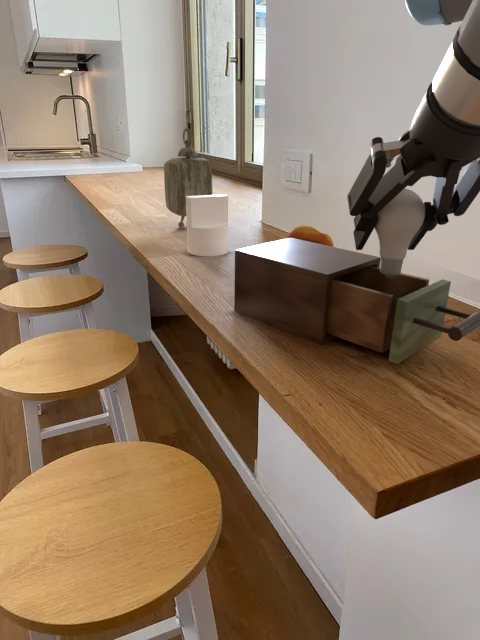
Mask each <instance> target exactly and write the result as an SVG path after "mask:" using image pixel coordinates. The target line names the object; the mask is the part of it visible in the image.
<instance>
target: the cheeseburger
mask: <svg viewBox="0 0 480 640" xmlns="http://www.w3.org/2000/svg"><path fill="white" fill-rule="evenodd" d="M286 238H295V239H299V240H304V241H309V242H313V243H318V244H322V245H327V246H331V247H335V246H334V245H335V244H334V242H333V240H332V237H331V236H330V235H329V234H328V233H326V232H320V231H319V230H317V229H316V228H314V227H312V226H307V225H298V226H296V227H294V228H293V229H291V231H290V232H289V233H288V235H287V237H286Z"/></svg>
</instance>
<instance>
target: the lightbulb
mask: <svg viewBox="0 0 480 640" xmlns="http://www.w3.org/2000/svg"><path fill="white" fill-rule="evenodd" d="M377 217H378V222H377V224H376V226H375V228H374V230H375V232H376V235H377V238H378V242H379V243H378V244H379V257H381V261H380V272H381V273H382V274H384V275H385V277H387V278H393V277H394V276H396V275H399V274H400V273H402V268H403V264H404V260H405V258H406V256H407V253H408V246H409V244H410V242H411V240H412V238H413V237H414V235H415V234H416V233H417V232H418V230H419V229H420V227H421V226H422V224H423V221H424V219H425V207H424V201H423V199H422V198H421V196H420V195H419V194H418V193H416V192H415V191H413V190H412V189H409V188H407V187H406V188H404V189H403V190H402V191H401V192H400V193H399V194H398V195H397V196H396V197H395V198H394V199H393V200H391V201H390V202H389V203H388V204H387V205H386V206H385V207H384V208H383V209H382V210H381V211H380V212H379V213H377Z"/></svg>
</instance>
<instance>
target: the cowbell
mask: <svg viewBox="0 0 480 640" xmlns="http://www.w3.org/2000/svg"><path fill="white" fill-rule="evenodd" d="M186 132H188V135H189V139H186V138H185V137H186ZM182 140H183V145H185V147H182V148H181V149H180V150H179V151H178V153H177V157H172V158H171V159H168V160H167V161H165V162H164V166H163V168H164V169H163V174H164V175H163V176H164V177H163V178H164V181H163V182H164V197H165V206H166V208H167V210H169V211H170V212H171V213H173V214H174V215H177V216H179V217H181V218H180V221H179V222H178V224H177V226H178V228H180V229H183V228H184V227H185V223H184V219H185V217H187V213H186V196H196V195H213V171H212V164H211V162H210V161H209V159H207V158H205V157H198V153H197V151H196V150H195V149H194V147H190V146H191V145H192V141H193V136H192V130H191V129H190V128H188V127H185V128H184V129H183V131H182Z"/></svg>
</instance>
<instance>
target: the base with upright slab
mask: <svg viewBox="0 0 480 640" xmlns="http://www.w3.org/2000/svg"><path fill="white" fill-rule="evenodd" d="M186 213H187V216H186V245H187V246H186V248H187V249H186V251H187V253H188V254H190V255H192V256H198V257H217V256H223V255H226V254H227V253H228V252H229V195H227V194H223V193H221V194H219V193H218V194H212V195H196V196H186Z"/></svg>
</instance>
